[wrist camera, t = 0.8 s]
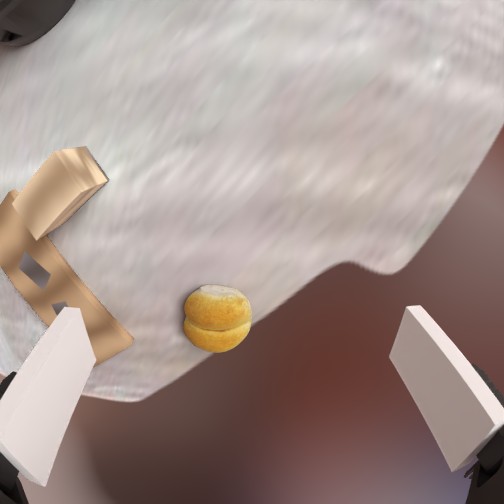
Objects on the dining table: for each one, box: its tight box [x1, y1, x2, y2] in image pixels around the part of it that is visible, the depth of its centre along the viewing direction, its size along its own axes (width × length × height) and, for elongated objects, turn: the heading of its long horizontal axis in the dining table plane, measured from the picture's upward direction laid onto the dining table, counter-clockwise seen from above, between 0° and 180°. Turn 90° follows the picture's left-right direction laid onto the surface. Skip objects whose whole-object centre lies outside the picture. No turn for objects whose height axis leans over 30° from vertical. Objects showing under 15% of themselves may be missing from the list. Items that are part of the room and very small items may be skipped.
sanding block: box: [12, 146, 109, 241], centre depth 27 cm, size 5×8×7 cm, turn 123°
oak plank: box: [0, 189, 134, 367], centre depth 34 cm, size 26×10×2 cm, turn 33°
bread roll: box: [183, 285, 252, 353], centre depth 36 cm, size 8×9×4 cm
